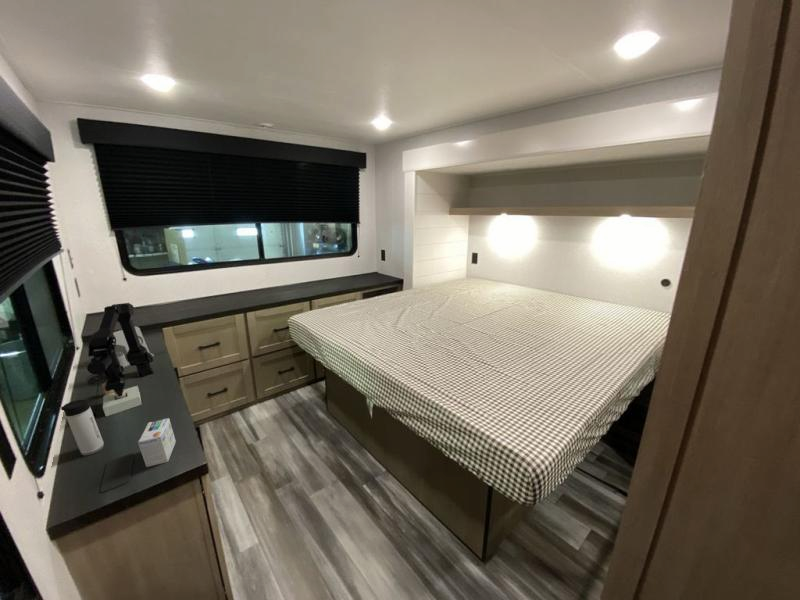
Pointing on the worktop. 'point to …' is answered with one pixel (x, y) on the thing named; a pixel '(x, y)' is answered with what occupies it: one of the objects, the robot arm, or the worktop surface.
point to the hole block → (121, 401)
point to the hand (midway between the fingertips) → (120, 394)
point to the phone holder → (122, 342)
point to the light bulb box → (157, 442)
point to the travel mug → (83, 426)
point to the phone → (117, 473)
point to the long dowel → (120, 396)
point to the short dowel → (107, 391)
